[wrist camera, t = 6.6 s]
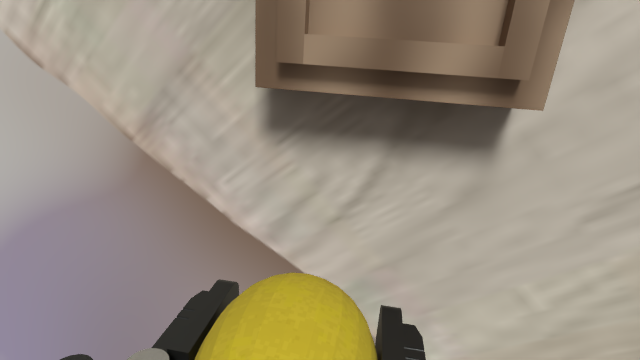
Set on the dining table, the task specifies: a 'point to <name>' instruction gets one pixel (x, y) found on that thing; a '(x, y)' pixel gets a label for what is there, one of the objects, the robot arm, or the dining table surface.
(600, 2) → the dining table surface
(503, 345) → the dining table surface
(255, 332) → the lemon
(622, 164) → the dining table surface
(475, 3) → the brown wooden crate
